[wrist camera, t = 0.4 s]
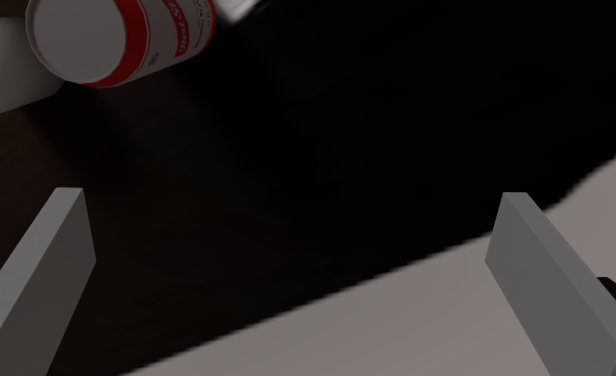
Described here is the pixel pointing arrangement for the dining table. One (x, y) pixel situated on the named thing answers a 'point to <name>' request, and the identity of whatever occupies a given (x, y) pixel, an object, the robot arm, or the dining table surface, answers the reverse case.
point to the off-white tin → (22, 68)
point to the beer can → (116, 37)
